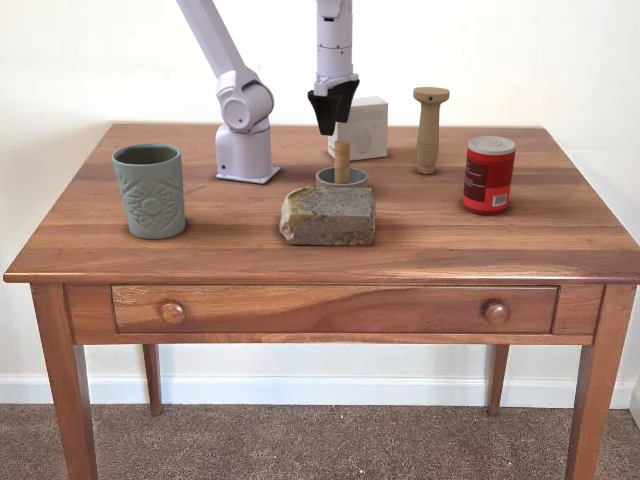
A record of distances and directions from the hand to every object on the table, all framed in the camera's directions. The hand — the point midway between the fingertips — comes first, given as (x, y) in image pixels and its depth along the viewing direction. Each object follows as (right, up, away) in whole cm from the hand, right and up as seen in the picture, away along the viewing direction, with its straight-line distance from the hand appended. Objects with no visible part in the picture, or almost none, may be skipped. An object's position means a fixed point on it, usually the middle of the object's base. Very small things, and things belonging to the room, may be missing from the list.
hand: (334, 128), depth 127 cm
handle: (+17, -5, +12) cm, 21 cm away
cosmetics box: (+4, 0, +20) cm, 20 cm away
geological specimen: (-1, -19, -11) cm, 22 cm away
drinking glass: (-28, -19, -10) cm, 35 cm away
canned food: (+26, -14, -1) cm, 29 cm away
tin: (+1, -10, +3) cm, 11 cm away
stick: (+1, -10, +3) cm, 10 cm away
